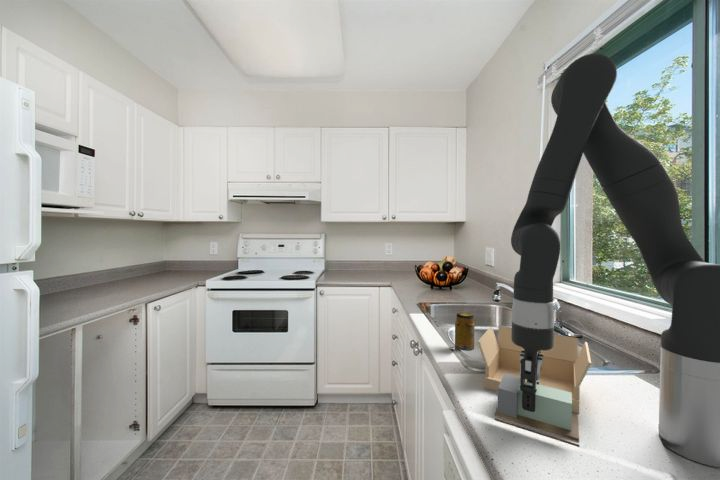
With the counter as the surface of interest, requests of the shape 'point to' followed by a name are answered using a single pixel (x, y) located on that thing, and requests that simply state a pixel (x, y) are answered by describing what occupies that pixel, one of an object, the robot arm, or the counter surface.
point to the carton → (557, 366)
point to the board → (545, 427)
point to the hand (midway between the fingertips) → (530, 400)
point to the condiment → (464, 332)
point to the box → (548, 403)
